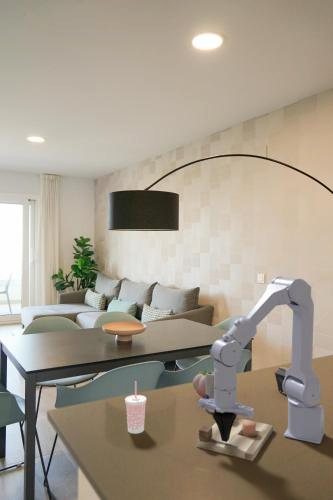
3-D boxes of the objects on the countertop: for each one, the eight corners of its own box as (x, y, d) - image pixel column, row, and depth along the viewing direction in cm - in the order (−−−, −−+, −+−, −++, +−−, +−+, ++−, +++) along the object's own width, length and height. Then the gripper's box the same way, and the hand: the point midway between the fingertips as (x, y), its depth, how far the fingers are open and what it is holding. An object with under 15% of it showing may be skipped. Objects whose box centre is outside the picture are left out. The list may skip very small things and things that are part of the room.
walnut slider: (212, 436, 109) (212, 427, 109) (207, 441, 107) (207, 431, 106) (203, 434, 110) (203, 425, 110) (199, 439, 108) (199, 429, 108)
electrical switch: (304, 397, 143) (303, 371, 142) (294, 401, 140) (292, 375, 140) (284, 389, 151) (282, 364, 151) (274, 393, 148) (272, 368, 148)
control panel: (273, 430, 117) (273, 420, 117) (252, 461, 100) (252, 449, 100) (223, 420, 124) (223, 410, 124) (196, 446, 107) (196, 436, 107)
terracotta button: (257, 433, 113) (257, 422, 113) (253, 438, 109) (253, 427, 109) (244, 430, 114) (244, 419, 114) (240, 435, 111) (240, 424, 111)
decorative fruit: (224, 400, 140) (224, 371, 140) (206, 405, 135) (206, 375, 135) (207, 392, 148) (207, 364, 148) (188, 397, 143) (188, 368, 143)
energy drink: (211, 405, 135) (211, 369, 135) (225, 409, 132) (225, 372, 132) (202, 410, 131) (202, 373, 131) (216, 415, 128) (216, 376, 128)
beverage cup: (137, 423, 122) (136, 376, 122) (150, 430, 117) (150, 381, 117) (120, 429, 118) (120, 381, 117) (134, 436, 113) (134, 386, 113)
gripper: (193, 387, 106) (193, 439, 106) (247, 397, 99) (247, 453, 99) (204, 379, 112) (204, 429, 112) (256, 388, 105) (256, 441, 105)
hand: (225, 439), depth 106 cm, fingers closed
